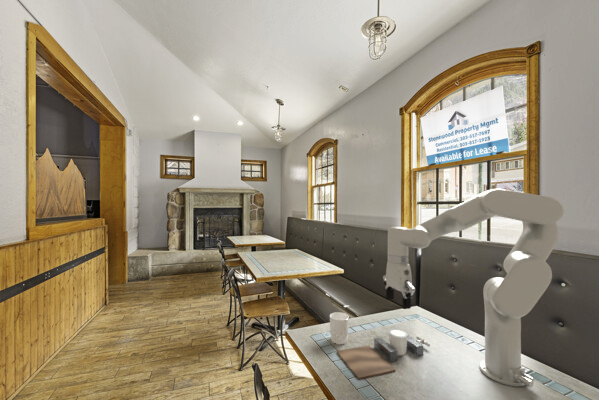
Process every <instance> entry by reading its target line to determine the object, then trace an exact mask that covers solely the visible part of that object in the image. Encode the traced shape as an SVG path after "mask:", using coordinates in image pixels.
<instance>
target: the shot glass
mask: <svg viewBox="0 0 599 400" xmlns="http://www.w3.org/2000/svg"><path fill="white" fill-rule="evenodd" d="M388 336H389V344H390V345H391V346H392V347H393V348H395V349H396V350H397V356H404V355H406V354H407V350H408V349H407V339H408V333H407V332H406V331H405V330H402V329H399V328H392V329H389V331H388Z"/></svg>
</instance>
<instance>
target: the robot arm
mask: <svg viewBox="0 0 599 400" xmlns="http://www.w3.org/2000/svg"><path fill="white" fill-rule="evenodd" d="M564 212H565V210H564V207H563V205H562V203H561V202H560V201H559V200H557V199H556V198H553V197H551V196H546V195H540V194H539V195H538V194H534V193H533V194H532V193H529V192H527V193H526V192H521V191H514V190H508V189H502V188H493V189H488V190H486V191H483V192H481V193H479V194H477V195H475V196H473V197H471V198H469V199H467V200H465V201H464V202H461V203H459V204H458V205H455V206H453V207H451V208H448V209H447V210H445V211H444V212H442V213H440V214H438V215H436V216H434V217H432V218H430V219H428V220H426V221H424V222H422V223H420V224H418V225H415V226H414V227H413V228H407V227H404V226H391V227H389V228H388V229H387V262H386V270H385V275H383V276H382V279H383V284H384V288H385V300H387V301H390V300H394V299H395V298H394V295H395V294H394V293H395V292H394V291H395V290H396V291H399V292H401V294H402V296H403V297H402V299H401V300H402V302H401V303H402V304H401V305H402V306H401V307H402V309H403V310H409V309H411V306H412V305H411V304H412V303H411V302H412V298H413V296H414V295H415V291H416V288H415V287H414V285H413V278H412V277H413V276H412V270H411V269H412V268H411V265H410V263H409V261H410V260H409V249H410V248H414V249H418V250H421V249H425V248H428V247H429V246H430V244H431V243H432V241H434V240H436V239H438V238H440V237H443V236H445V235H448V234H450V233H457V232H462V231H465V230H467V229H469V228H472V227H473V226H475V225H477V224H478V225H479V224H480V223H482V222H484V221H486V220H488V219H491V218H493V217H495V216H498V217H502V218H506V219H511V220H515V221H520V222H522V232H521V234H520V236H519V238H518V240H517V241H516V242H515V244H514V246H513V247H512V248H511V250H510V251H509V253H508V255H507V256H506V257H505V259H504V261H503V269H504V271H505V273H506V275H505V276H504V277H501V276H496V277H491V278H489V279H488V280H487V281H486V282H485V284H484V285H483V293H482V294H483V304H484V359H483V360H481V361H480V362H479V369H480V371H481V372H482V374H484V375H485V376H486V377H488V378H490V379H492V380H493V381H495V382H497V383H499V384H503V385H506V386H509V387H510V386H511V387H519V388H520V387H524V386H527V387H529V388H533V387H534V381H535V378H534V377H533V376H531V375H529V374H527V373H526V368H525V366H522V340H521V339H522V336H521V335H522V334H521V333H522V319H521V318H522V317H525V316H527V315H528V314H529V313H530V312H531V311H532V309H534V307H535V305H536V304H537V303H538V302H539V300H540V299H541V297H542V296H543V295H544V293H545V292H546V290H547V289H548V287H549V285H550V284H551V282H552V278H553V272H552V267H550V265H549V263H547V260H548V259H549V257H550V255H551V253H552V251H553V250H554V249H555V247H556V245H557V243H558V239H559V228H558V225H557V223H558V222H559V221H560V220H561V219H562V218H563V215H564ZM409 247H410V248H409Z"/></svg>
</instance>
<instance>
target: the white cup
mask: <svg viewBox="0 0 599 400" xmlns="http://www.w3.org/2000/svg"><path fill="white" fill-rule="evenodd" d="M349 324H350V316H349V314H347V313H345V312H343V311H342V312H340V311H335V312H332V313H330V314H329V327H330V328H329V329H330V340H331V342H332V343H333V344H335V343H336V345H345V344H347V343H348V340H349V339H348V338H349V337H348V336H349Z"/></svg>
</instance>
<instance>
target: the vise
mask: <svg viewBox="0 0 599 400" xmlns="http://www.w3.org/2000/svg"><path fill="white" fill-rule="evenodd" d="M415 338H416V339H414V337H412V336H410V335H408V339H407V349H406V350H408V351H409V352H411V353H412V354H413V355H414V356H416V357H420V356H421V357H422V356H424V345H426V346H427V347H428V348H429V347H430V346H431V344H430V343H428V342H426V341H425V339H424V338H421V337H419V336H416V337H415ZM373 341H374V343H373V346H374V347H373V349H374V350H376V351H378V353H380V354H381V356H382V357H384V358H385V357H386V358H385V359H386V360H388V362H390V363H392V362H397V361H398V355H397V350H396V349H395V348H393V347H392V346H391V345H390V342H387V341H386V340H385V339H384V338H382V337H374V338H373Z"/></svg>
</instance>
